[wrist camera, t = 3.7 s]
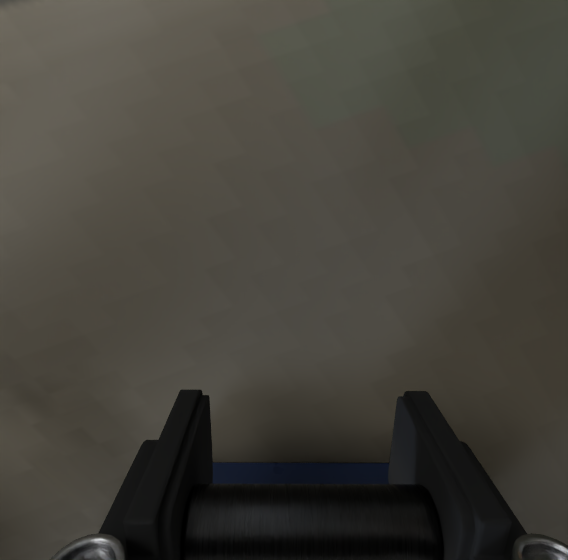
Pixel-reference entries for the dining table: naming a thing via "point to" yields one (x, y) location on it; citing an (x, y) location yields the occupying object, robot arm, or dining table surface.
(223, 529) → the lever
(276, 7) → the dining table surface
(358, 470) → the bracket
